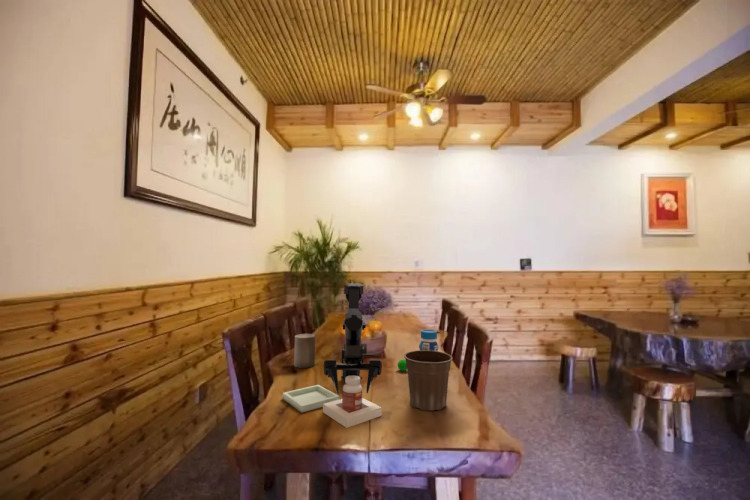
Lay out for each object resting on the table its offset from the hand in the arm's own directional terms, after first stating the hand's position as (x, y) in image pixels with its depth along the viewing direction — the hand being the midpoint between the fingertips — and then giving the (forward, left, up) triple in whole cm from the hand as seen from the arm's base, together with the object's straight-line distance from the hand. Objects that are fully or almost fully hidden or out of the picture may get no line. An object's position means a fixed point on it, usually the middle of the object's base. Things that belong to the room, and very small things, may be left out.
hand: (352, 392), depth 102 cm
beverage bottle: (-46, -9, -7) cm, 47 cm away
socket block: (-1, -1, -7) cm, 7 cm away
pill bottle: (-1, -1, -7) cm, 7 cm away
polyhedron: (-46, -24, -7) cm, 52 cm away
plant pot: (-26, +8, -7) cm, 28 cm away
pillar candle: (-14, -57, -7) cm, 59 cm away
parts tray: (+4, -18, -7) cm, 20 cm away
